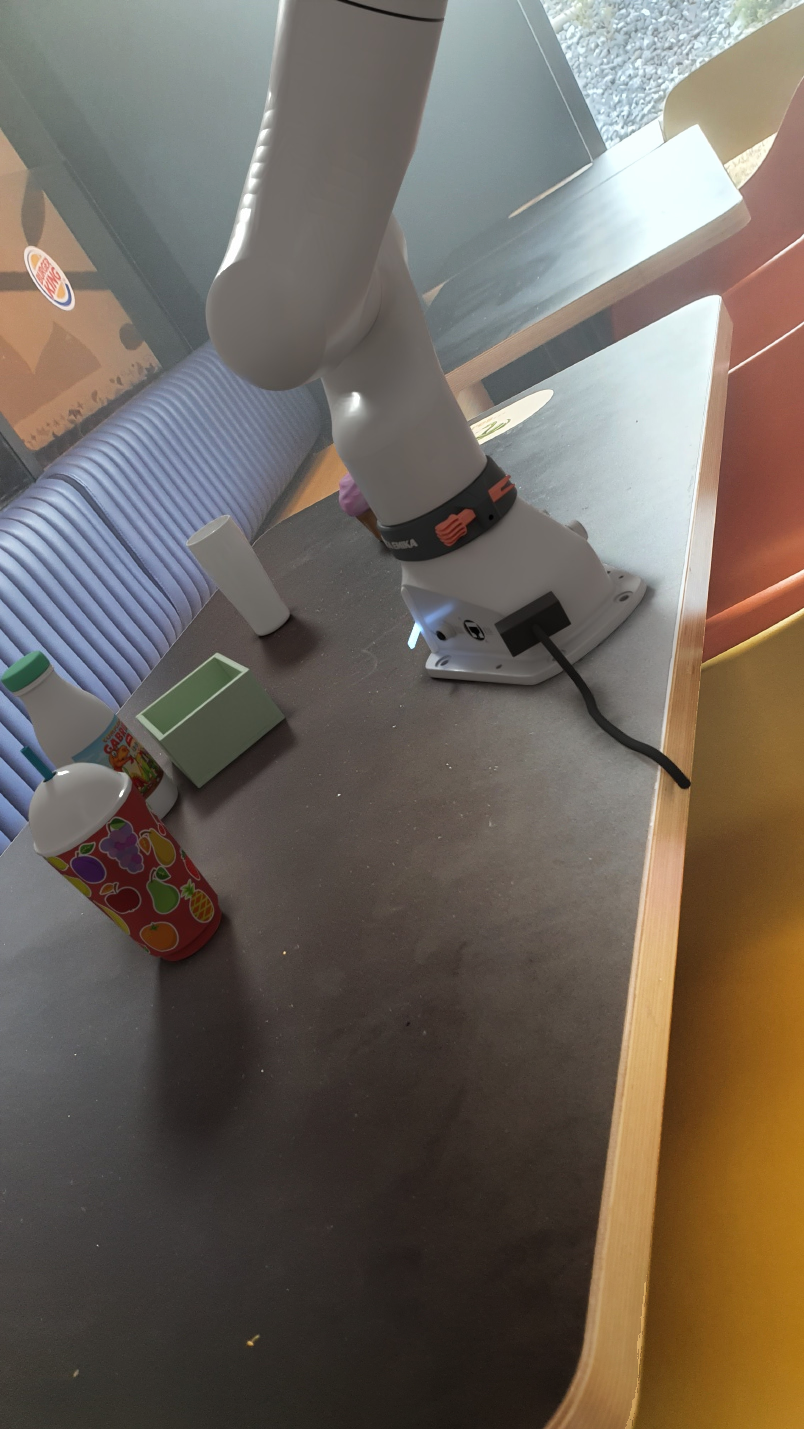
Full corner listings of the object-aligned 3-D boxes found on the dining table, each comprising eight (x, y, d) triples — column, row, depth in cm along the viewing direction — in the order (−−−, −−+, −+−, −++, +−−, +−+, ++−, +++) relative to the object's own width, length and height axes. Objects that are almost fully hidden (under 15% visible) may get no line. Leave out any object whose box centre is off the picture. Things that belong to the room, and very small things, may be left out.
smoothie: (201, 887, 82) (45, 709, 73) (255, 901, 75) (91, 709, 67) (132, 965, 77) (-42, 787, 69) (183, 986, 71) (-2, 793, 62)
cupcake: (360, 542, 135) (322, 481, 130) (411, 507, 135) (375, 445, 131) (374, 555, 127) (334, 491, 122) (429, 519, 127) (391, 453, 123)
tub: (285, 717, 100) (249, 669, 97) (199, 788, 98) (159, 740, 95) (250, 696, 110) (217, 652, 107) (171, 760, 108) (134, 716, 105)
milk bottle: (116, 852, 96) (-23, 701, 87) (120, 815, 103) (-9, 672, 94) (181, 810, 96) (48, 654, 87) (180, 776, 103) (57, 629, 94)
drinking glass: (288, 629, 122) (219, 530, 115) (246, 647, 125) (176, 552, 118) (302, 602, 127) (237, 507, 121) (262, 621, 130) (196, 528, 123)
